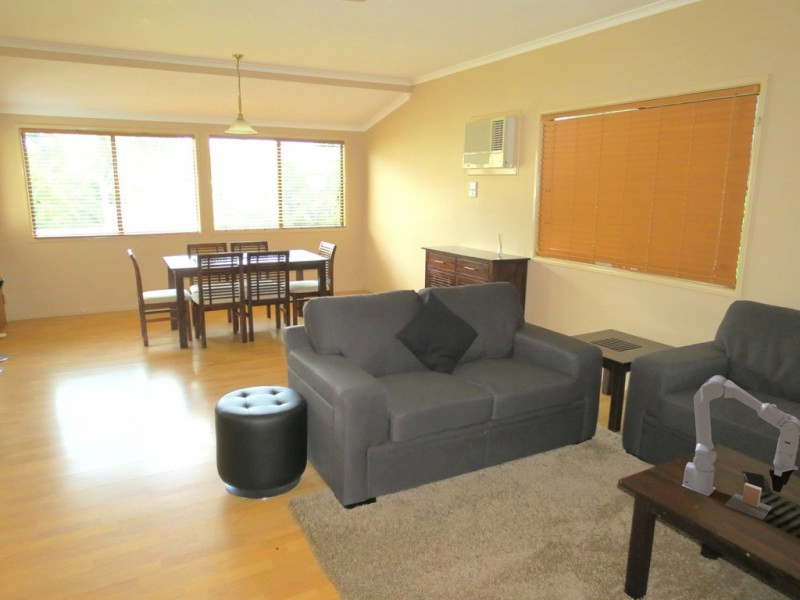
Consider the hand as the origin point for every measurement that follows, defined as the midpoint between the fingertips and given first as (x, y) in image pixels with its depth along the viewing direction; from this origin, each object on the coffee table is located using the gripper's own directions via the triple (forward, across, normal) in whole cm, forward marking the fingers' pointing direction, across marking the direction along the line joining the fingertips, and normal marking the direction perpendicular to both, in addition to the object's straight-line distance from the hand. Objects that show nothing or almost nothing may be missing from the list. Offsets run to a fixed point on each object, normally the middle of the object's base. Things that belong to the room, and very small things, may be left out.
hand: (779, 487), depth 194 cm
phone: (+11, +18, +11) cm, 24 cm away
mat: (+10, -3, +8) cm, 13 cm away
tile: (+10, -1, +8) cm, 12 cm away
